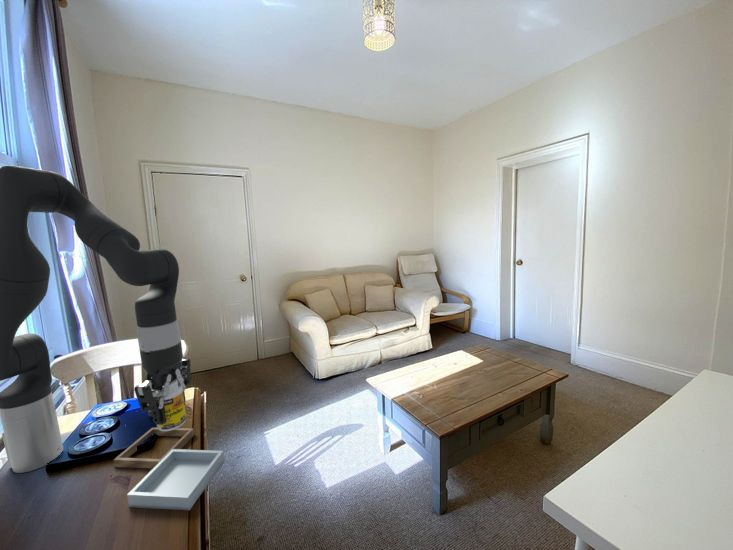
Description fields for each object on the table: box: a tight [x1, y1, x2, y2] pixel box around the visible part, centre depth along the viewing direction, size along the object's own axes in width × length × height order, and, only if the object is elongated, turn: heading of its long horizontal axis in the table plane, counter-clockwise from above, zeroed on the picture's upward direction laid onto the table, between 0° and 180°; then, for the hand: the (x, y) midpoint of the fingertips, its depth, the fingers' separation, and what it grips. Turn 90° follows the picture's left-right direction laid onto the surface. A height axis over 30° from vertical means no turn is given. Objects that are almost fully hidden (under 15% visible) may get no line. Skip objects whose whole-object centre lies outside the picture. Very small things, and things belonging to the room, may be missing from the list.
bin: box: [126, 448, 225, 511], centre depth 72 cm, size 14×14×3 cm
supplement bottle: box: [155, 379, 187, 431], centre depth 69 cm, size 6×6×10 cm
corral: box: [113, 427, 195, 470], centre depth 83 cm, size 13×13×2 cm
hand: (170, 414), depth 69 cm, fingers closed on supplement bottle, 5 cm apart
